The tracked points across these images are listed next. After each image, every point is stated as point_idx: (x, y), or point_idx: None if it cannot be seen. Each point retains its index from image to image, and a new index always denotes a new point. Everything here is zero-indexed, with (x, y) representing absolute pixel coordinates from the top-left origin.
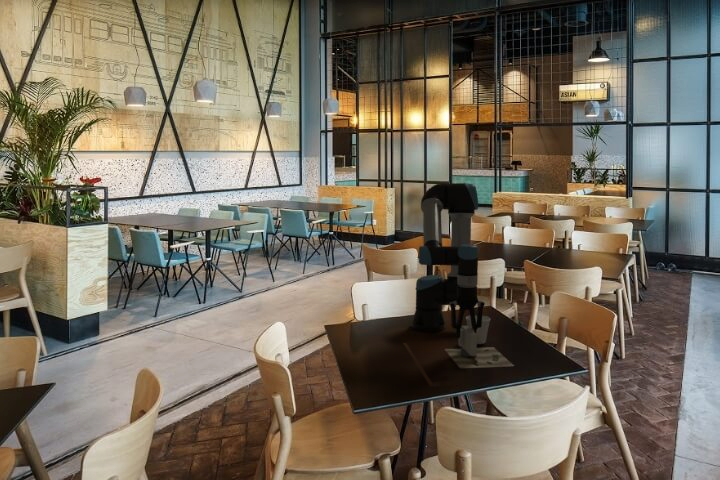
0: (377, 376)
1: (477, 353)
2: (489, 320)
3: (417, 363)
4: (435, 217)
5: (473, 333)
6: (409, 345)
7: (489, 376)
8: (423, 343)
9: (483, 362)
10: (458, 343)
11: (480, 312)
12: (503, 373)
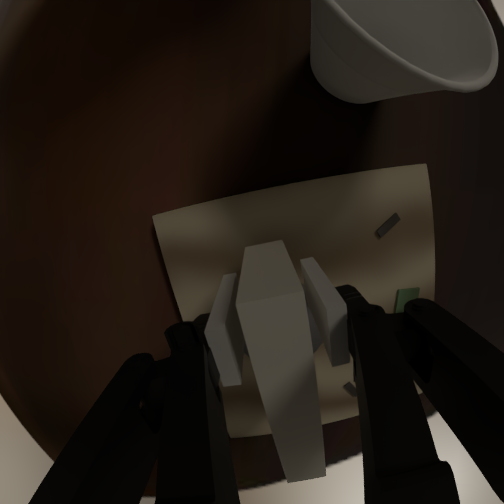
0: (44, 421)
1: (333, 277)
2: (496, 68)
3: (82, 360)
4: None
5: (309, 468)
6: (28, 144)
7: None
8: (75, 95)
9: (330, 387)
10: (223, 281)
11: (487, 459)
12: None
